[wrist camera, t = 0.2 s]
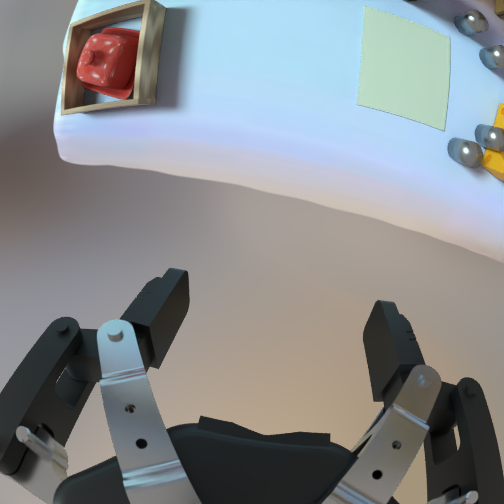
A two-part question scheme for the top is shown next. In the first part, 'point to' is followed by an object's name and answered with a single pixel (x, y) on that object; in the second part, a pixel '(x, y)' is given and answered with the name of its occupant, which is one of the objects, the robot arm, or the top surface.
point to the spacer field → (484, 134)
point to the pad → (404, 68)
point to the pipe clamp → (495, 161)
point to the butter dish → (110, 62)
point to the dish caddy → (144, 65)
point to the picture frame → (499, 8)
